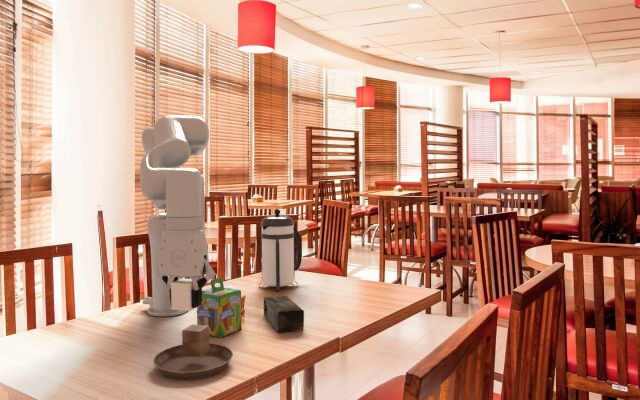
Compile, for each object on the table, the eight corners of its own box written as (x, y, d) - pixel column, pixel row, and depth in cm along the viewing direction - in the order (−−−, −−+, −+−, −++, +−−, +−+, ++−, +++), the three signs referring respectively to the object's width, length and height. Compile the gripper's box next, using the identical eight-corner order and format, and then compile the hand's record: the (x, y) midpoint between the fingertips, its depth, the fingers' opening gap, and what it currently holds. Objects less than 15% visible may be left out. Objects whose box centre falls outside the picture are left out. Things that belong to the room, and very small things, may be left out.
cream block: (171, 309, 113) (170, 282, 113) (182, 304, 118) (181, 278, 117) (189, 310, 112) (189, 283, 112) (200, 305, 116) (199, 279, 116)
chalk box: (220, 338, 138) (219, 284, 137) (195, 333, 143) (194, 280, 142) (243, 329, 146) (242, 277, 145) (219, 324, 151) (218, 274, 150)
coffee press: (299, 291, 189) (298, 210, 187) (256, 292, 189) (254, 210, 187) (301, 281, 206) (301, 206, 204) (262, 281, 206) (261, 207, 205)
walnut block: (182, 355, 118) (182, 330, 118) (192, 349, 123) (191, 324, 122) (200, 357, 117) (199, 331, 117) (209, 350, 122) (209, 325, 121)
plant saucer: (245, 372, 116) (245, 359, 116) (166, 391, 106) (166, 377, 106) (216, 349, 131) (216, 337, 131) (145, 364, 121) (144, 351, 121)
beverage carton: (287, 313, 162) (287, 292, 162) (305, 331, 144) (305, 308, 144) (263, 315, 160) (262, 294, 159) (277, 334, 142) (277, 311, 141)
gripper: (140, 225, 112) (143, 307, 113) (210, 227, 108) (212, 312, 109) (160, 222, 120) (162, 299, 121) (226, 223, 115) (228, 303, 116)
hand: (186, 304), depth 115 cm, fingers closed on cream block, 4 cm apart
